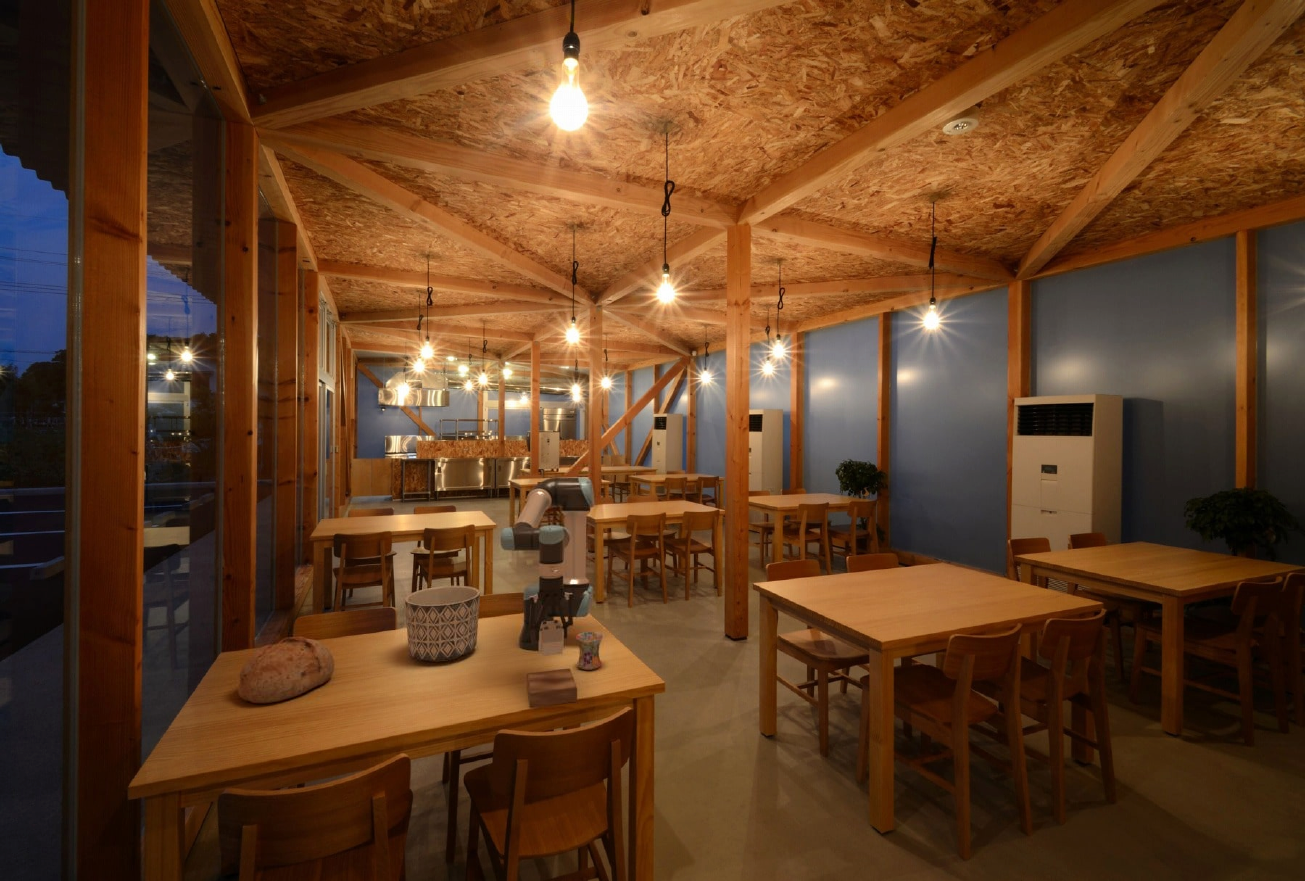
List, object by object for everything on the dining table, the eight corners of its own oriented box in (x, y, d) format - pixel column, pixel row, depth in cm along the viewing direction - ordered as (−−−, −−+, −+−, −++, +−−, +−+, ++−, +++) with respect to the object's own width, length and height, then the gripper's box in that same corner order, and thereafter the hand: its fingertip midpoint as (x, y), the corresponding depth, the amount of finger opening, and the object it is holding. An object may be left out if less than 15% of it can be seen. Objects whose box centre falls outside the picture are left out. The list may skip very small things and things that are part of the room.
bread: (271, 712, 162) (271, 661, 161) (218, 699, 170) (218, 650, 170) (349, 676, 186) (349, 632, 186) (300, 666, 194) (300, 623, 194)
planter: (479, 638, 222) (479, 583, 222) (480, 663, 197) (480, 601, 197) (408, 645, 214) (408, 588, 214) (401, 672, 189) (401, 608, 189)
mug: (605, 670, 192) (605, 639, 192) (578, 673, 189) (578, 642, 189) (597, 657, 203) (597, 628, 203) (572, 660, 200) (572, 630, 200)
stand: (526, 686, 179) (526, 672, 179) (570, 680, 183) (570, 667, 183) (530, 707, 165) (530, 693, 165) (577, 701, 169) (577, 687, 169)
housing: (540, 646, 177) (540, 620, 177) (559, 644, 178) (559, 618, 178) (542, 656, 169) (542, 628, 169) (562, 654, 171) (562, 626, 171)
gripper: (520, 580, 167) (520, 657, 167) (583, 576, 173) (583, 650, 173) (519, 574, 175) (519, 648, 174) (579, 571, 180) (579, 642, 180)
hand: (551, 649), depth 174 cm, fingers closed on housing, 6 cm apart
